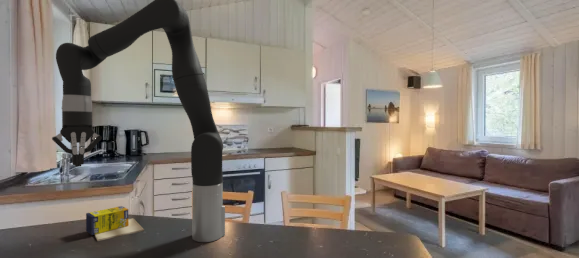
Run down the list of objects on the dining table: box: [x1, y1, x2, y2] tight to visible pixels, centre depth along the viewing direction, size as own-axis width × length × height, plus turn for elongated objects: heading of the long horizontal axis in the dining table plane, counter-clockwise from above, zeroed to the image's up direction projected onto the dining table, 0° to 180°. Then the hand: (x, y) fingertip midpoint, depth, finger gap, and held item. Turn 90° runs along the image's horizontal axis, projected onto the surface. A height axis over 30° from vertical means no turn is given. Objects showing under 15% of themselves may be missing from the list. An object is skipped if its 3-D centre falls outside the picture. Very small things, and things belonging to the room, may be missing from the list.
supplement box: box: [85, 205, 129, 236], centre depth 95 cm, size 6×6×11 cm
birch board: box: [94, 218, 145, 242], centre depth 96 cm, size 13×14×1 cm
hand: (78, 166), depth 88 cm, fingers closed
